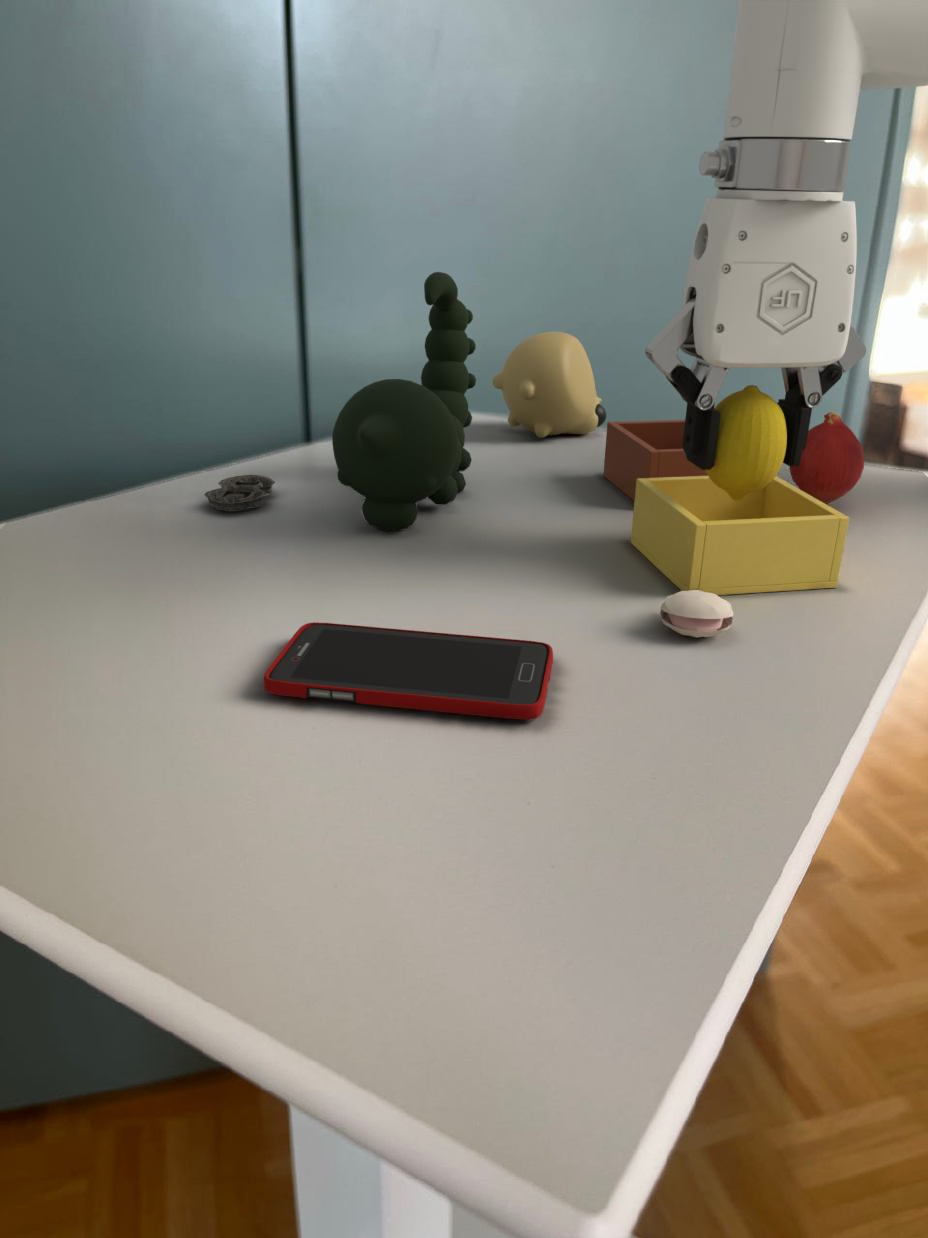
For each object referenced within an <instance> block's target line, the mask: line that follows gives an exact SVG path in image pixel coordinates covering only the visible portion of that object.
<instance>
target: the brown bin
mask: <svg viewBox="0 0 928 1238" xmlns="http://www.w3.org/2000/svg"><path fill="white" fill-rule="evenodd" d="M606 423H607V424H606V438H605V447H604V460H603V461H604V462H603V477H604V478H605V479H607V480H608V481H609V482H610V483H611V484H613V485H614V486H615V487H616V488H617V489H619V490H620V491H621V492H622V493H624V494H625V495H626V496H627V497H628V498H630V499H631V500H632V501H633V502H635V491H636V480H637V479H639V478H645V479H646V478H662V477H688V476H708V475H707V473H706V470H702V469H700V468H699V467H697V466H696V465H694V464H693V463H691V462H690V461H688V460H687V458H686V453H685V452H684V450H683V436H684V427H685V419H665V420H628V421H627V420H626V421H607V422H606Z"/></svg>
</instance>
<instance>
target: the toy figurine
mask: <svg viewBox="0 0 928 1238" xmlns="http://www.w3.org/2000/svg"><path fill="white" fill-rule="evenodd" d="M423 289H424V290H423V291H424V301H425V303H426V305H428V306H431V308H430V310H429V314H428V324H429V326H430V329H431V330H430V331H428V333H427V335H426V337H425V340H424V350H425V356H426V358H427V360H428V361H427V362H426V363H425V364H424V365H423V368H422V369H421V375H420V383H421V384H419V383H417V382H415V381H412V380H407V379H402V378H387V379H386V378H385V379H382V380H377V381H374V382H372V383H370V384H367V385H366V386H363V387H362V388H360V389H359V390H358V391H357V392H355V393H354V394H353V395H352V396H351V397H350V398H349V399H348V400H347V402H346V403H345V404H344V406H343V407H342V408H341V410H340V411H339V414H338V416H337V418H336V420H335V423H334V426H333V430H332V435H331V439H332V440H331V445H332V451H333V457H334V461H335V464H336V468H337V474H336V476H337V477H336V478H337V480H338V482H339V483H340V484H341V485H343V486H346V487H350V488H351V489H352V490H353V491H354V492H356V493H357V494H358V495H360V496H362V497H364V500H363V502H362V505H361V514H362V516H363V518H364V521H365V522H366V523H367V524H368V525H369V526H371V527H374V528H377V529H379V530H384V531H394V532H395V531H396V532H397V531H398V532H399V531H404V530H407V529H408V528H410V527H412V526H413V525H414V524H415V522H416V521H417V517H418V513H419V511H418V505H417V503H418V502H421V501H423V500H425V499H429V500H430V501H431V502H432V503H433V504H435V505H440V506H447V505H448V504H450V503H451V502H454V500H455V498H456V496H457V494H460V493H462V492H464V490H465V488H466V486H467V482H466V479H465V475H464V473H463V472H465V471H466V470H467V469H468V468H469V467H470V466H471V463H472V456H471V453H470V452H469V451H468V450H467V449H466V448H464V447H465V443H466V442H465V441H466V435H465V434H466V433H465V429H464V428H468V427H469V426H470V425H471V424H472V421H473V415H472V413H471V412H470V411H469V403H468V400H467V398H466V396H465V394H466V393H467V390H469V389H473V388H474V387H476V383H477V378H476V376H475V375H474V374H472V373H471V372H469V370H468V368H467V365H466V364H465V362H466V361H467V359H468V356H470V355H472V354H474V352H475V351H476V348H477V347H476V342H475V341H474V340H473V339H472V338H471V337H469V336H468V334H467V333H466V329H467V328H468V325H470V324H471V323H472V321H473V319H474V313H472V311H471V310H470V309H468V308H467V307H466V305H465V304H464V303H463V301H461V300H459V299H458V295H459V291H458V290H459V289H458V286H457V283H456V282H455V280H454V279H453V277H452V276H451V275H449V274H448V273H446V272H442V271H436V272H433V273H430V274H429V275H428V276H427V277H426V278H425V280H424V284H423Z"/></svg>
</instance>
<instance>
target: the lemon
mask: <svg viewBox="0 0 928 1238" xmlns="http://www.w3.org/2000/svg"><path fill="white" fill-rule="evenodd" d="M777 403H778V402H777V401H775V399H774V398H772V396H770V395H769V394H767V393H765V392H762V391H761V389H760V388H759V386H757V385H754V384H750V385H749V384H748V385H746V386H745V387H744V388H743V389H741V390H737V391H735V392H732V393H730V394H729V395H727V396H726V397H724V398H723V399H722V400H721V401H720V402H718V403H717V404H716V406H714V409H716V410H718V411H719V412H720V415H721V416H720V424H719V432H718V440H717V448H716V456H715V464H714V467H713V468H711V469H710V470H706V473H707V475H708V476H709V478H710V479H711V480H712V482H713V483H714V484H715V485H717V486H718V487H719V488H721V489H723V490H724V491H726V492H727V494H728V495H729V496H730V498H731V499H732V500H734V501H741V500H742V499H743V498H745V497H746V496H747V495H748V494H750V493H752V492H756V491H759V490H761V489H762V488H764V487H765V486H767V485H768V484H769V483H770V482H771V481H772V480H773V479H774V478H775V477H776V476H778V474H779V472H780V470H781V468H782V466H783V464H784V463H783V460H784V457H785V452H786V446H787V427H786V420H785V417H784V414H783V411H782V409H781V408H780V406H779V405H778V404H777Z"/></svg>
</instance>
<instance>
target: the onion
mask: <svg viewBox="0 0 928 1238" xmlns="http://www.w3.org/2000/svg"><path fill="white" fill-rule="evenodd" d="M823 418H824V420H823V422H821V423H818V424H817V425H814V426H813V427H811V428H809V431H808V437H807V443H806V447H805V449H804V450H803V451H802V456H801V462H800V465H799V466H798V467H790V466H788V467H789V473H790V476H791V479H792V481H793V482H794V484H795V485H796V486H797V488H798V489H800V490H802V491H803V492H805V493H807V494H809V495H810V496H812V497H814V498H816V499H817V500H819V501H821V502H823V503H824V504H826V505H828V504H830V503H832V502H835V501H836V500H838V499H840V498H842V497H844V496H845V495H846V494H847V493H849V492H850V491H851V490H852V489H853V488H854V487H855V486H856V484H857V483H858V482H859V480H860V479H861V477H862V474H863V472H864V469H865V454H864V449H863V446H862V444H861V442H860V440H859V439H858V438H857V435H855V433H854V432H853V430H852V429H851V428H850V427H848V425H846V424H845V423H844V421H843V420H842V418H841V416H840V415H839V414H838V413H837V412H835V411H829V412H827V413H826V414H824V415H823Z"/></svg>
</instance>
